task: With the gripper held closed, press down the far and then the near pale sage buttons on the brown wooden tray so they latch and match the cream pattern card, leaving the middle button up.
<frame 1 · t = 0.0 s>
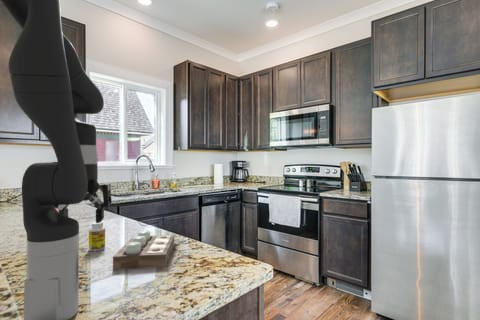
hand: (82, 222, 70), 17 cm above the countertop, tool pointing down, fingers open, 8 cm apart
button middle: (139, 243, 94), point 5 cm above the countertop, slide at 0.0 cm
button far: (143, 237, 101), point 5 cm above the countertop, slide at 0.0 cm
brown wooden tray: (147, 255, 94), on the countertop
button near: (133, 250, 86), point 4 cm above the countertop, slide at 0.0 cm
supplement bottle: (97, 249, 101), on the countertop
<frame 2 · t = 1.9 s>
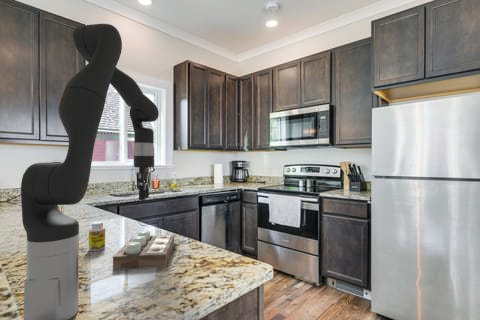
hand: (144, 198, 101), 19 cm above the countertop, tool pointing down, fingers open, 5 cm apart
nothing on the countertop moved.
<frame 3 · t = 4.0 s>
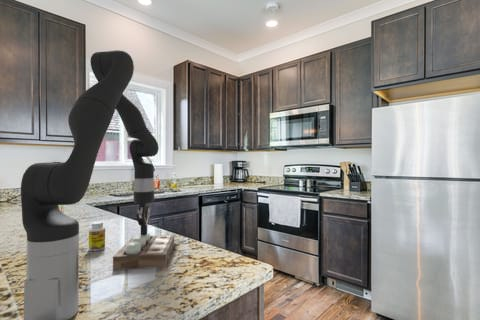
hand: (144, 234, 101), 6 cm above the countertop, tool pointing down, fingers closed
button far: (143, 240, 101), point 3 cm above the countertop, slide at 1.0 cm, touching gripper
everything else where it was.
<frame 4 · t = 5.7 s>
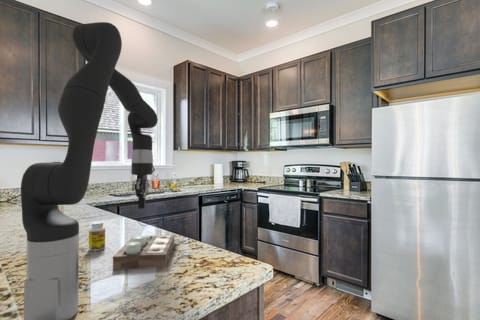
hand: (141, 208, 98), 16 cm above the countertop, tool pointing down, fingers closed
button far: (143, 241, 101), point 3 cm above the countertop, slide at 1.7 cm
everything else where it was.
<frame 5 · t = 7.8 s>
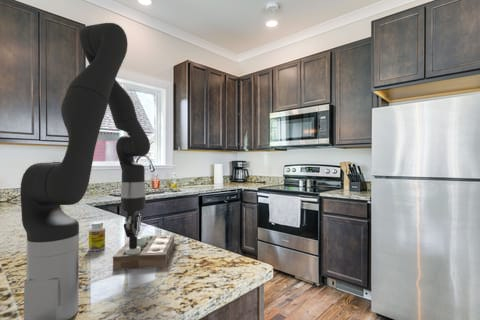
hand: (133, 248, 86), 5 cm above the countertop, tool pointing down, fingers closed
button near: (133, 254, 86), point 3 cm above the countertop, slide at 1.4 cm, touching gripper
everything else where it was.
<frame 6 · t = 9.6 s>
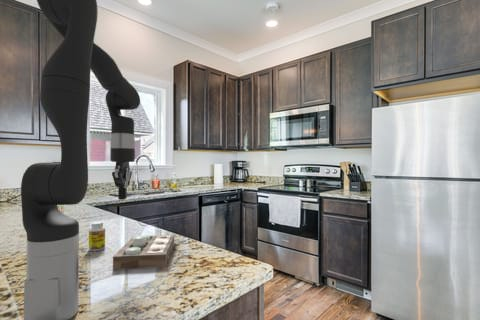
hand: (122, 199, 88), 21 cm above the countertop, tool pointing down, fingers closed
button near: (133, 255, 86), point 3 cm above the countertop, slide at 1.7 cm
everything else where it was.
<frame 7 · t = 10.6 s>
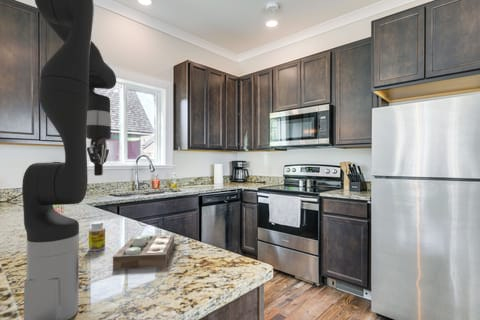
hand: (98, 175, 90), 29 cm above the countertop, tool pointing down, fingers closed
nothing on the countertop moved.
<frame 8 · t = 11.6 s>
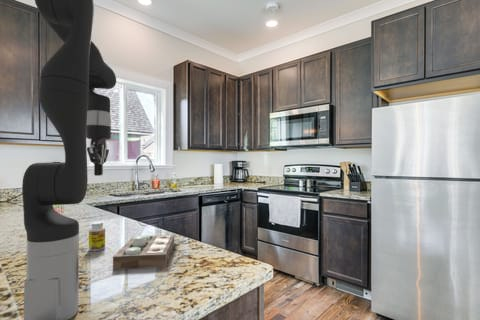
hand: (98, 175, 90), 29 cm above the countertop, tool pointing down, fingers closed
nothing on the countertop moved.
at the end: button far slide at 1.7 cm; button near slide at 1.7 cm; button middle slide at 0.0 cm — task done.
